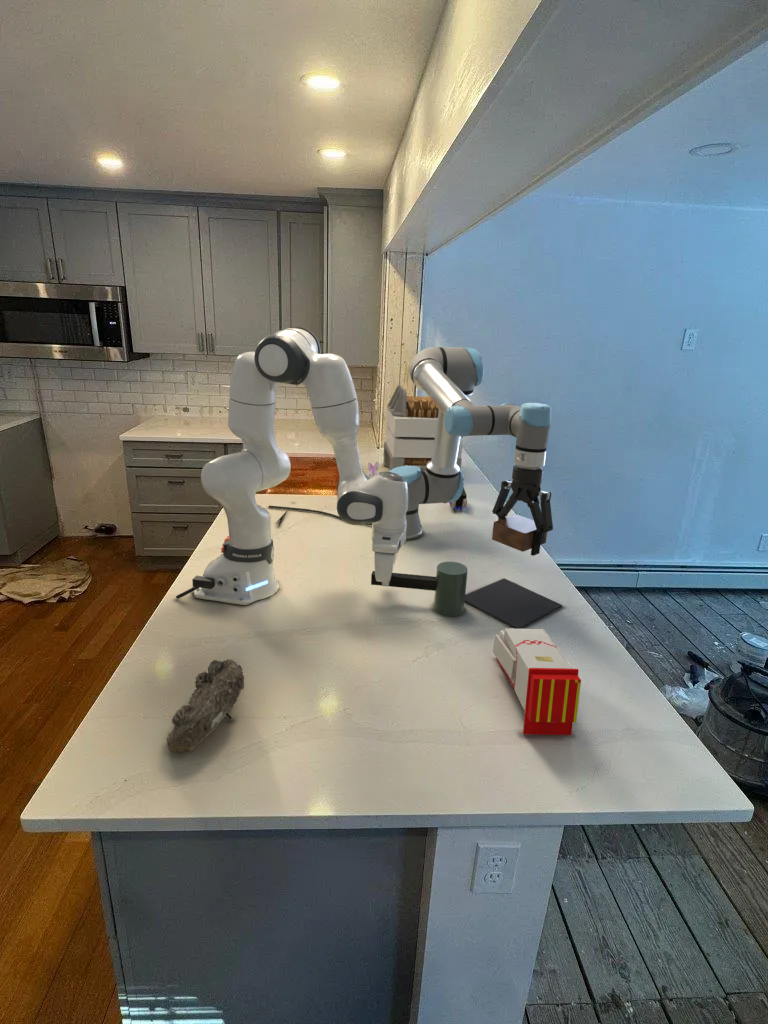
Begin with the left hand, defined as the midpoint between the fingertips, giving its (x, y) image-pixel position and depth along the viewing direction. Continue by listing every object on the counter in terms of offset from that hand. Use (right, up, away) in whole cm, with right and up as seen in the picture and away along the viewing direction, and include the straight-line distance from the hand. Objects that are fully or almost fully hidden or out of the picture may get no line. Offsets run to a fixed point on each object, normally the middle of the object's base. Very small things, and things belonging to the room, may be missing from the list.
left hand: (386, 582), depth 151 cm
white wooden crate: (+17, +38, +124) cm, 131 cm away
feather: (-38, +18, +62) cm, 75 cm away
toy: (+30, -19, -31) cm, 47 cm away
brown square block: (+35, +11, -2) cm, 37 cm away
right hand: (+35, +9, -1) cm, 36 cm away
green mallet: (+8, -6, +1) cm, 10 cm away
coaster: (+34, -6, +5) cm, 35 cm away
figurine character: (+29, +20, +78) cm, 86 cm away
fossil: (-33, -20, -43) cm, 58 cm away
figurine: (-5, +25, +86) cm, 89 cm away
